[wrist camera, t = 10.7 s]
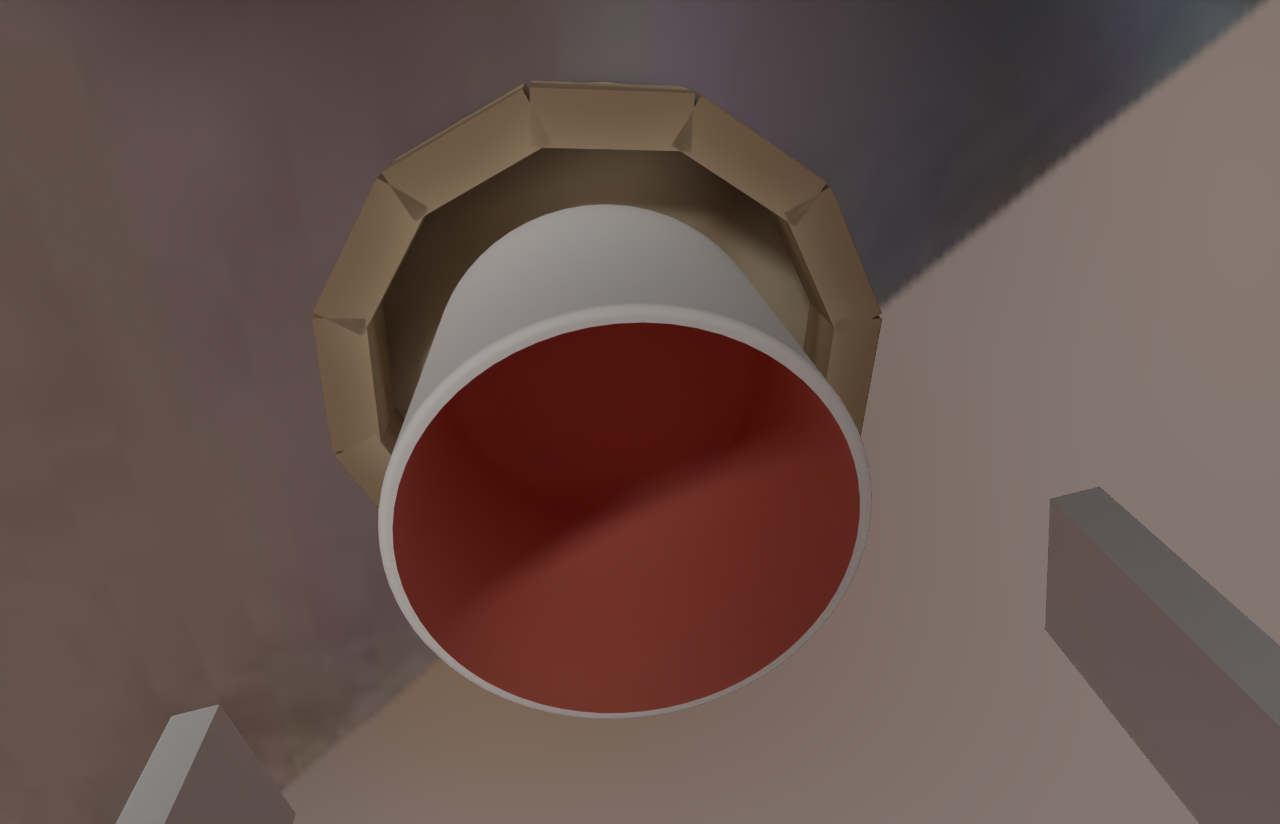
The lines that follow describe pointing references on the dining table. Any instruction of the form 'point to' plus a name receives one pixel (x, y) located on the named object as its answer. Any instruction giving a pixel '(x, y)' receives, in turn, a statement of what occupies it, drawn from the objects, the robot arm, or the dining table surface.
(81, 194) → the dining table surface
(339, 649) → the dining table surface
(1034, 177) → the dining table surface
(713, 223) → the hub plate
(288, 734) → the dining table surface
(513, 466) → the cup
